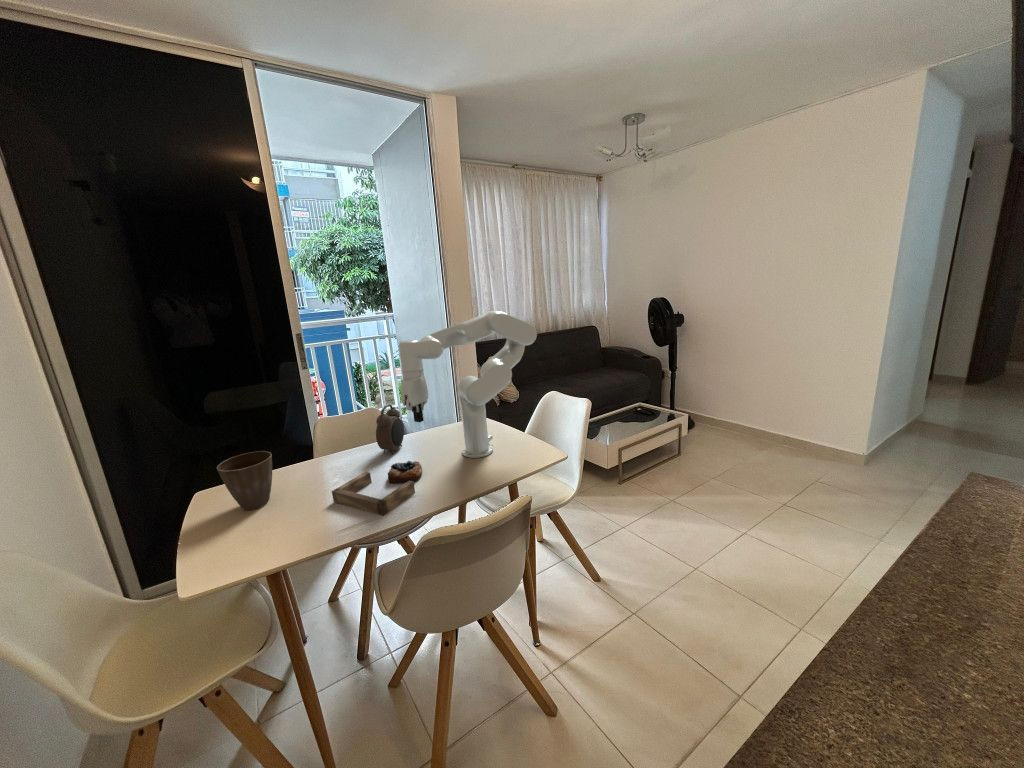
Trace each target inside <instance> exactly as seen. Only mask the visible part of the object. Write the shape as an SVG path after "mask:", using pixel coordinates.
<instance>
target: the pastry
mask: <svg viewBox="0 0 1024 768" xmlns="http://www.w3.org/2000/svg"><path fill="white" fill-rule="evenodd" d="M422 474H423V467H422V464H420V461H417V460H415V461H411V460H408V461H406V462H395V463H393V464H392V465H390V468H389V471H388V472H387V479H388V480H387V481H388V482H389V483H388V484H391V485H396V484H405V483H406V482H408V481H413V482H414V483H415V482H418V481H419V480H420V479H421V477H422Z"/></svg>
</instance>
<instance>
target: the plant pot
mask: <svg viewBox="0 0 1024 768" xmlns="http://www.w3.org/2000/svg"><path fill="white" fill-rule="evenodd" d="M272 458H273V455H272V452H270V451H266V450H262V451H261V450H259V451H251V452H247V453H246V452H245V453H242V454H239V455H235V456H232V457H230V458H228V459H225V460H223V461H222V462H220V463H219V464H218V465H216V470H217V472H218V474H219V477H220V478H221V481H222V482H223V484H224V486H225V487H226V490H228V492H229V494H230V495H231V496H232V498H233V499H234V500H235V502H236V503H237V504H238V505H239V506H240V507H241V509H243V510H244V511H252V510H251V509H254V510H257V509H260V508H262V507H264V506H266V505H267V504H268V503H269V502H268V501H270V497H271V493H272V492H271V491H272V483H273V459H272ZM267 502H268V503H267ZM266 503H267V504H266ZM265 504H266V505H265ZM263 505H264V506H263ZM261 506H262V507H261ZM259 507H260V508H259ZM256 508H257V509H256Z"/></svg>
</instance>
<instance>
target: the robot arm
mask: <svg viewBox="0 0 1024 768" xmlns="http://www.w3.org/2000/svg"><path fill="white" fill-rule="evenodd" d="M495 334H496V335H499V336H501V337H503V338H505V339H506V341H505V343H504V346H502V348H501V349H500V350H499V351H498V352H497V353H495V354H494V355H493V356H492V357H490V358H489V359H488V360H486V362H484V363H483V364H482V365H481V368H480V377H477V376H474V375H466V376H464V377H462V378H461V380H460V381H459V382H458V387H457V393H458V399H459V404H460V411H461V418H462V427H463V428H462V429H463V436H464V437H463V438H464V447H463V448H462V449H461V454H462V456H464V457H466V458H471V459H479V458H484V457H487V456H489V455H490V454H492V453H493V451H494V448H493V446H492V444H490V441H492V440H493V438H494V437H493V435H491V434H488V423H487V411H486V404H487V403H489V402H490V401H491V400H492V399H493V398H495V397H496V396H497V395H498V394H499V393H500V392H501V391H503V390H504V389H505V388H506V387H507V386H508V385H509V384H510V382H511V380H512V378H513V372H512V369H513V368H514V367H515V366H517V364H519V362H520V361H521V359H522V357H523V355H524V353H525V347H526V346H531V345H532V344H533V343H534V342H535V341H536V340H537V336H538V333H537V329H536V327H535V326H534V325H533V324H532V323H529V322H526V321H524V320H522V319H520V318H518V317H515V316H513V315H511V314H508V313H506V312H503V311H499V310H490V311H488V312H485V313H483V314H480V315H478V316H475V317H472V318H471V319H468V320H466V321H463V322H461V323H458V324H455V325H452V326H449V327H446V328H443V329H441V330H438V331H435V332H433V333H431V334H428V335H426V336H424V337H422V338H421V339H420V340H417V339H406V340H403V341H400V342H399V343H398V351H399V356H400V357H399V358H400V365H401V374H402V379H401V385H400V386H401V387H400V388H401V389H400V391H401V402H402V406H405V409H406V411H411V412H412V414H413V421H414V422H415V423H422V422H424V420H425V419H424V413H423V411H424V406H425V405H426V404H427V403H428V400H429V389H428V385H427V379H426V376H425V375H424V365H423V360H436V359H438V358H440V357H441V356H442V355H443V353H444V350H446V349H448V348H451V347H456V346H466V345H471V344H473V343H475V342H478V341H481V340H483V339H485V338H488V337H490V336H492V335H495Z"/></svg>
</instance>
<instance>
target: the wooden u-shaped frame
mask: <svg viewBox="0 0 1024 768" xmlns="http://www.w3.org/2000/svg"><path fill="white" fill-rule="evenodd" d="M370 484H372V476H371V472H369V471H364V472H363V473H361V474H359V475H357V476H356V477H354V478H352V479H350V480H349V481H346V483H344V484H341V485H340V486H338V487H336V488H335V489H333V490H331V494H332V499H333V503H335V504H339V505H342V506H346V507H350V508H353V509H357V510H361V511H365V512H369V513H372V514H376V515H380V516H385V515H387V514H388V513H389V512H391V510H393V509H395V508H396V507H398V506H399V505H400V504H401V503H403V502H404V501H406V500H407V499H408V498H410V497H411V496H412V495H414V494H415V493H416V491H415V482H413V481H408V482H406V483H402V485H400V486H399V487H398V488H396V489H394V490H393V491H392V492H390V493H388V494H387V495H386V496H384V497H383V498H381V499H380V498H377V497H373V496H369V495H365V494H361V493H357V492H359V491H361V490H362V489H364V488H365V487H367V486H368V485H369V486H370Z"/></svg>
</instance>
